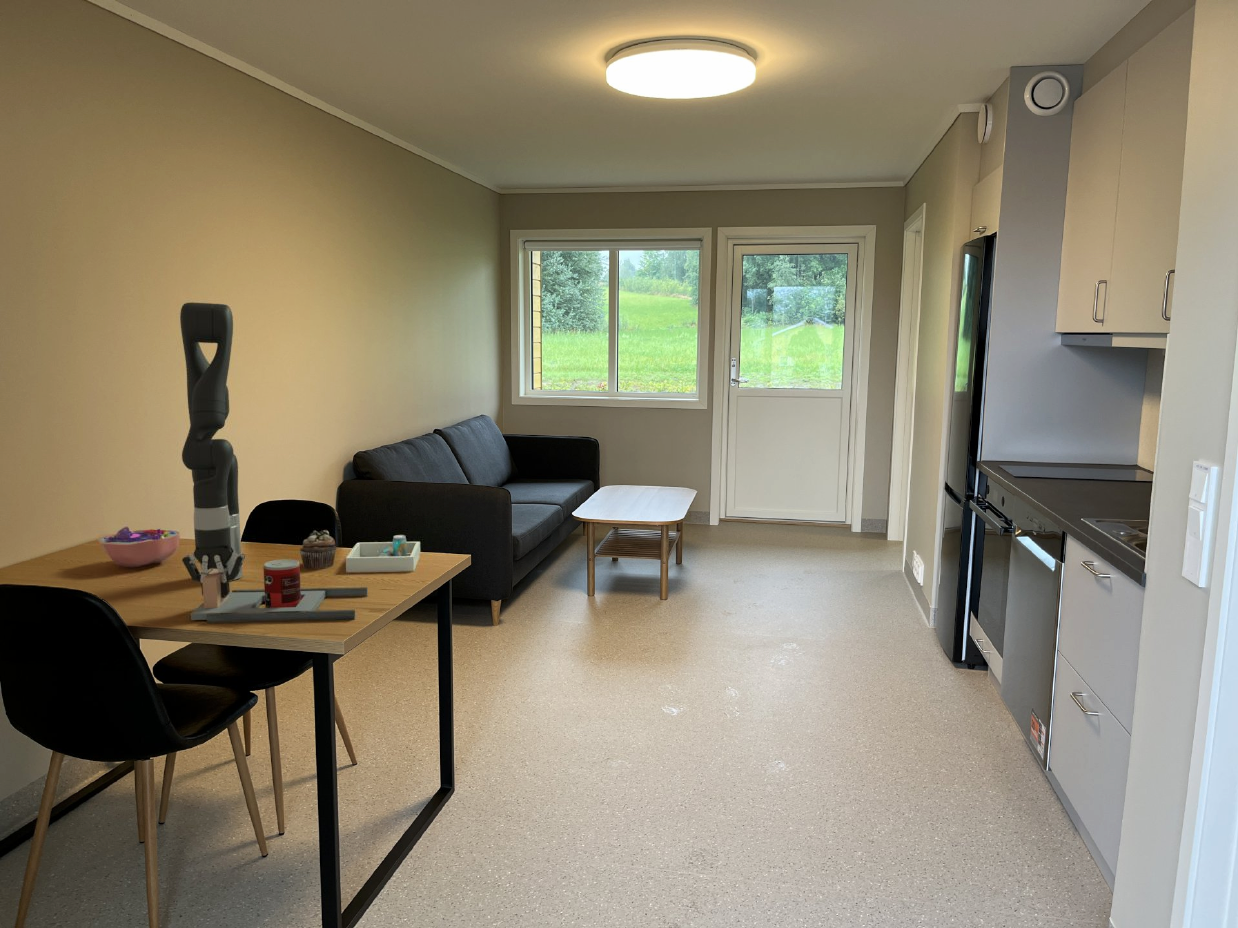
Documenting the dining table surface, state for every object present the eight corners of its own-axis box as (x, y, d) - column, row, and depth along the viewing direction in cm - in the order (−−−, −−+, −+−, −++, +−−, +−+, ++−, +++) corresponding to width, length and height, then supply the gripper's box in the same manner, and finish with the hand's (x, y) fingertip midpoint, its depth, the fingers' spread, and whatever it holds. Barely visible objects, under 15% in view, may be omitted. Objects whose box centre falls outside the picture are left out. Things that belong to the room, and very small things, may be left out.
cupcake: (331, 559, 252) (330, 525, 250) (340, 567, 244) (339, 532, 242) (296, 563, 247) (295, 529, 245) (304, 571, 239) (303, 535, 237)
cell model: (188, 566, 242) (186, 526, 241) (105, 577, 231) (102, 535, 229) (176, 553, 256) (173, 515, 254) (97, 563, 244) (94, 524, 242)
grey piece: (191, 620, 197) (188, 583, 196) (214, 598, 212) (212, 564, 211) (310, 617, 200) (309, 581, 199) (325, 596, 216) (324, 562, 214)
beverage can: (409, 569, 243) (408, 541, 242) (365, 569, 243) (364, 541, 242) (417, 558, 255) (416, 531, 254) (375, 558, 255) (375, 531, 254)
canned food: (271, 603, 210) (268, 559, 209) (305, 603, 211) (303, 558, 209) (260, 613, 203) (258, 567, 201) (296, 613, 203) (294, 567, 202)
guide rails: (207, 623, 196) (206, 614, 196) (233, 597, 214) (233, 589, 214) (354, 619, 200) (354, 610, 200) (367, 594, 218) (367, 587, 218)
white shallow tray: (346, 572, 238) (345, 558, 238) (357, 555, 256) (357, 542, 256) (413, 571, 241) (413, 557, 240) (420, 554, 258) (420, 541, 258)
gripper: (173, 529, 198) (178, 603, 200) (239, 528, 199) (243, 601, 202) (185, 522, 205) (190, 593, 207) (248, 521, 207) (252, 591, 209)
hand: (216, 596), depth 205 cm, fingers closed on grey piece, 3 cm apart
